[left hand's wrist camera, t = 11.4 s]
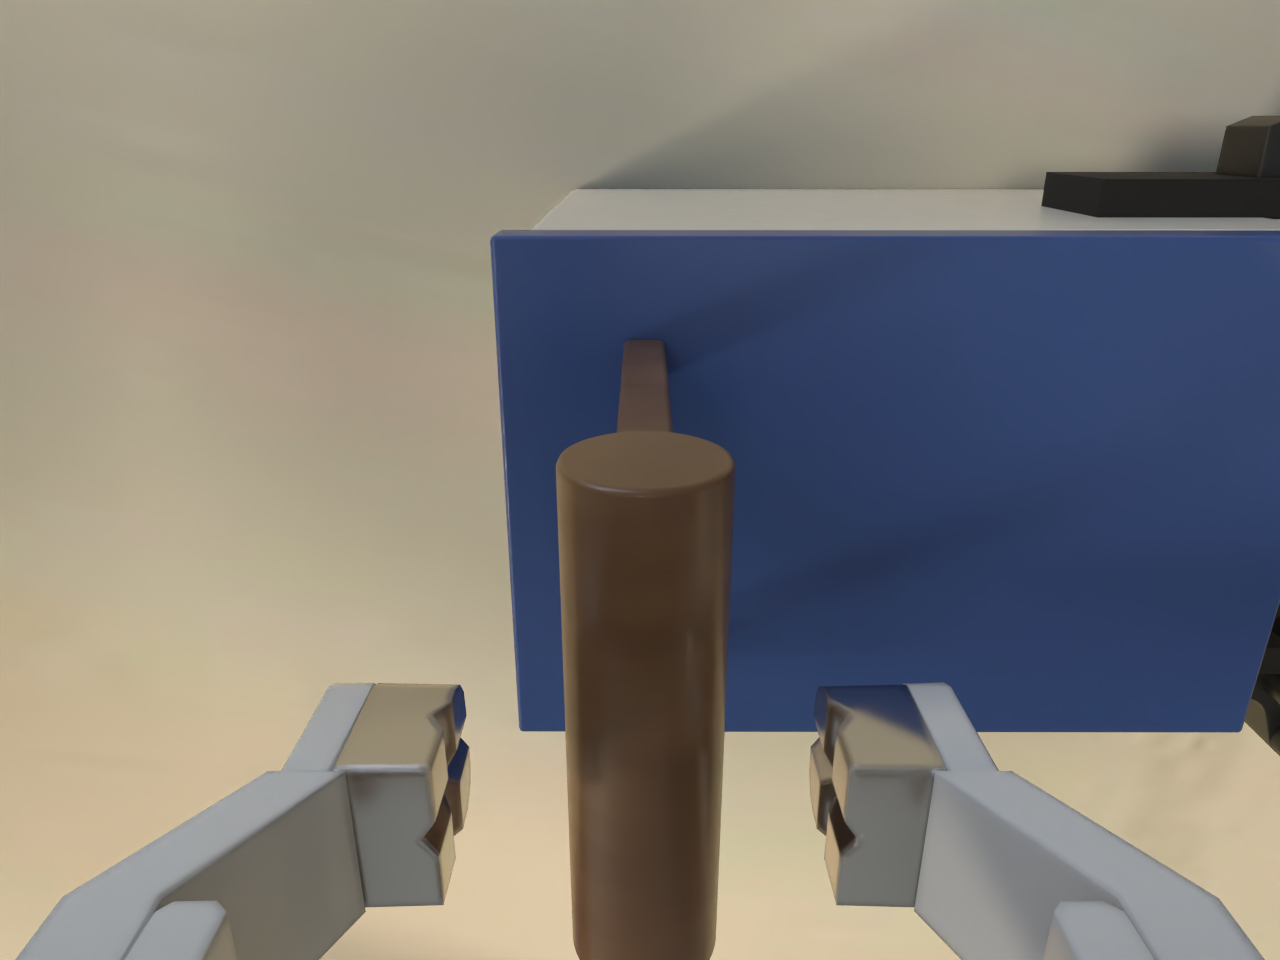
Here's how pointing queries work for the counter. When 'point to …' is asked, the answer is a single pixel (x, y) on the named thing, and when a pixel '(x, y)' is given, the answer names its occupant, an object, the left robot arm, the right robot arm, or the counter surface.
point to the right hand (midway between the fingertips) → (1029, 433)
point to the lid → (869, 504)
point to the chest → (845, 211)
